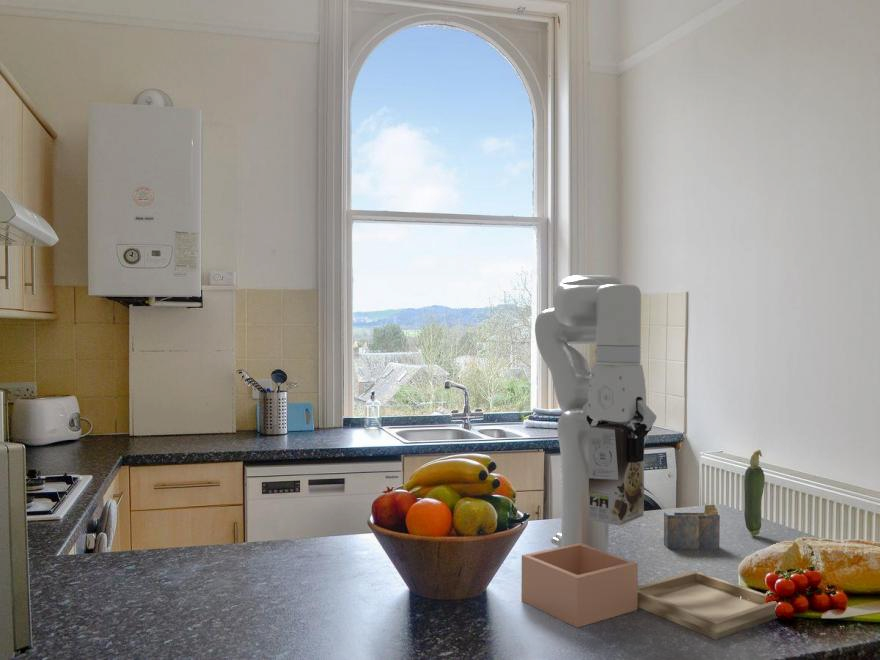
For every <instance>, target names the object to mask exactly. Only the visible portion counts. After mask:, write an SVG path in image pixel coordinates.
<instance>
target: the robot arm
mask: <svg viewBox="0 0 880 660" xmlns="http://www.w3.org/2000/svg"><path fill="white" fill-rule="evenodd" d="M553 297H554V298H553V307H551V308H547V309H545V310H542V311H541V312H540V313H539V314H538V315H537V317H536V319H535V323H534V334H535V335H534V336H535V341H536V345H537V348H538V351H539V354H540V355H541V358H542V360H543V361H544V363H545V364H546V366H547V368H548V370H549V371H550V375H551V378H552V382H553V387H554V392H555V397H556V400H557V403H558V407H559V408H560V411H562V414H561V415H560V416H559V418H558V421H557V439H558V445H559V451H560V463H561V521H560V522H561V523H560V525H561V528H560V530H561V532H558V533H557V534H556V535H555V536H554V537H552V538H551V539H550V540H551V541H550V542H551V544H553V545H556V546H558V547H563V546H568V545H572V544H577V543H582V544H585V545H588V546H590V547H593V548H596V549H599V550H602V551H605V552H608V553H610V551H609V550H610V549H609V547H610V546H609V545H610V540H609V539H610V536H609V535H610V533H609V531H610V530H609V527H610V524H609V523H604V522H600V521H595V520H590V519H588V502H589V501H588V500H589V439H590V426H596V425H601V424H606V423H616V424H625V425H626V428H627V429H628V432H629V435H630V437H631V438H628V440H627V461H628V462H630V463H634V462H642V461H643V460H644V461H645V444H646V441H647V440H646V439H647V437H648V433H650V432H651V430H652V427H653V425H654V424H655V422H656V420H657V415H656V414H655V413H654V411H652V410H651V408H650V407H649V406H648V405H647V391H646V390H647V389H646V380H645V373H644V369H643V365H642V364H641V361H642V360H641V359H642V358H641V355H642V354H641V352H642V350H641V343H642V341H641V339H642V338H641V337H642V336H641V334H642V330H641V329H642V293H641V290H640V288H639V287H638V286H637V285H634V284H627V283H626V284H624V283H622V281H621V280H620V279H619V278H618V277H616V276H613V275H608V274H607V275H606V274H605V275H595V274H594V275H590V274H589V275H585V274H583V275H582V274H576V275H575V274H574V275H570V276H567V277H565V278H563V279H562V280H561V281H560V282H559V283H558V284H557V286H556V289H555V293H554V296H553ZM572 345H595V349H594V355H595V362H593V364H592V367H591V369H590V366H589V363H588V360H587V359H586V357H585V356H584V355H583V354H582V353H580V351H579V350H577V349H576V348H575V347H573V346H572ZM634 425H636V428H637V429H636V430H635V428H634ZM558 547H557V548H558Z"/></svg>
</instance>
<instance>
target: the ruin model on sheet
mask: <svg viewBox="0 0 880 660" xmlns="http://www.w3.org/2000/svg"><path fill="white" fill-rule="evenodd" d="M673 513H674V514H669V513H667V512H664V513H663V546H665V548H667V549H684V550H685V549H688V550H689V549H693V550H694V549H695V550H696V549H698V550H700V549H701V550H702V549H705V550H706V549H709V550H712V549H713V550H719V549H720V533H721V532H720V530H721V529H720V526H721V525H720V524H721V523H720V522H721V521H720V520H721V519H720V518H721V517H720V515H719V511H718V509H717V507H716V505H715V503H714V502H713V503H712V504H706V503H704V512H681V511H679V512H673Z"/></svg>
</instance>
